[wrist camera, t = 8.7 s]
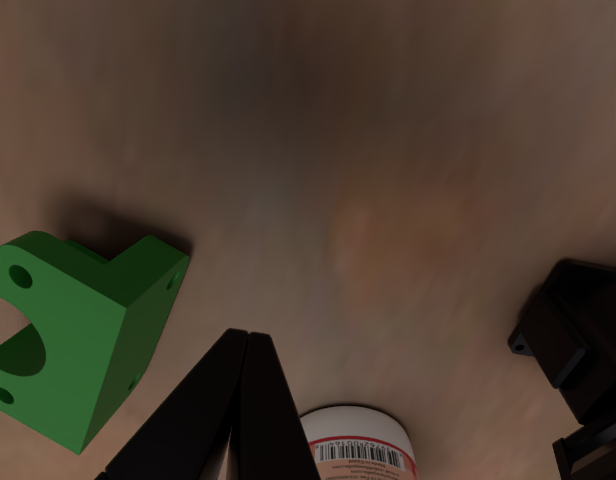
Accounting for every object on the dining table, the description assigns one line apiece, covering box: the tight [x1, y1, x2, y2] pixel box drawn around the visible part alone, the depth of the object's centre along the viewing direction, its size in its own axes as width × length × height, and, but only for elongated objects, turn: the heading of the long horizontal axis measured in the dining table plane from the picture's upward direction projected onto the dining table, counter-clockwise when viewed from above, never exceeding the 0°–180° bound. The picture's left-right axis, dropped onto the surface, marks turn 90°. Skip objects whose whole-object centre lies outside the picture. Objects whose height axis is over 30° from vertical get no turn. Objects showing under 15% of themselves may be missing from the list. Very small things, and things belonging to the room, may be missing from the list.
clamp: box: [0, 231, 189, 455], centre depth 21 cm, size 12×6×9 cm, turn 149°
